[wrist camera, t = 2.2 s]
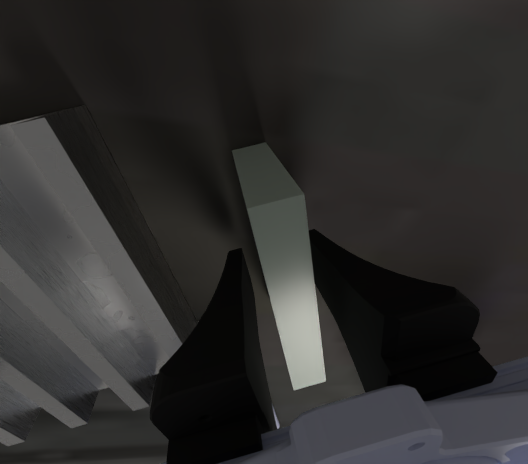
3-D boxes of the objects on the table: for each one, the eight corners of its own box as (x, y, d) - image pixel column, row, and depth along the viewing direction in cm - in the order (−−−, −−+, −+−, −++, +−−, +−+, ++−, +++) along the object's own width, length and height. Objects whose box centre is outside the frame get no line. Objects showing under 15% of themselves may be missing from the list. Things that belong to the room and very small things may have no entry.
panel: (292, 291, 18) (325, 381, 13) (269, 298, 18) (293, 390, 13) (265, 141, 12) (304, 194, 7) (231, 149, 12) (247, 208, 7)
